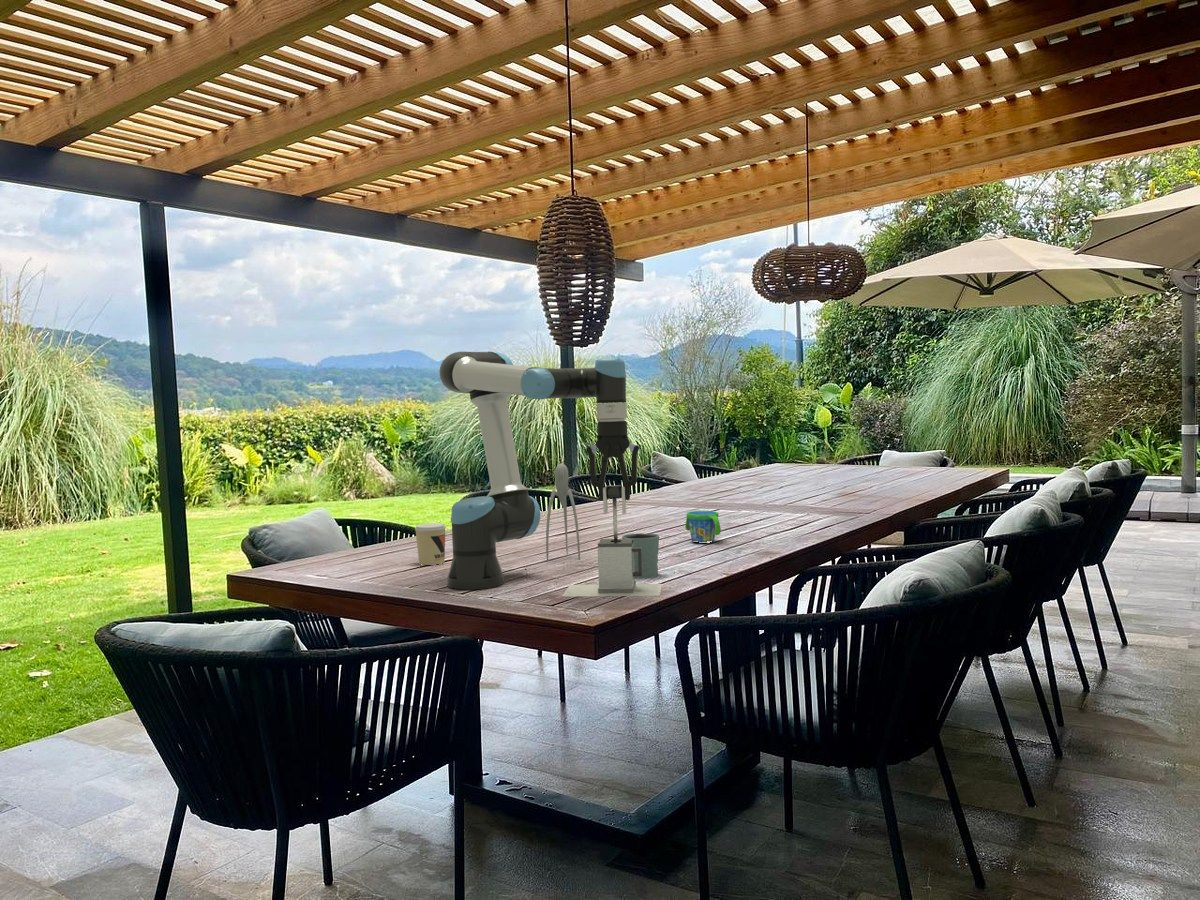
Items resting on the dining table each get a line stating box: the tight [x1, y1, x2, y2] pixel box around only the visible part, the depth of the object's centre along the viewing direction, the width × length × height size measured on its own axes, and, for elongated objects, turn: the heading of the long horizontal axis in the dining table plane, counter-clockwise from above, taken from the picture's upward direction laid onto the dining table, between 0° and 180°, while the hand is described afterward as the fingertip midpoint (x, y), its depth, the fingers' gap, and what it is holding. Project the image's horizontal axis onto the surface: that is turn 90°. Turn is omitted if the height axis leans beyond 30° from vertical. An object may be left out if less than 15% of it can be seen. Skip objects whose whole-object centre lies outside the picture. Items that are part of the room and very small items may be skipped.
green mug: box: [621, 533, 660, 579], centre depth 249 cm, size 10×10×12 cm
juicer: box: [545, 462, 581, 562], centre depth 285 cm, size 10×9×30 cm
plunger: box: [605, 484, 623, 542], centre depth 230 cm, size 6×6×18 cm
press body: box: [597, 538, 642, 593], centre depth 231 cm, size 11×9×12 cm
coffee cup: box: [414, 522, 447, 566], centre depth 284 cm, size 9×9×12 cm
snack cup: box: [685, 510, 722, 542], centre depth 308 cm, size 16×10×10 cm
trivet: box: [562, 583, 663, 598], centre depth 231 cm, size 24×14×1 cm, turn 84°
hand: (615, 513), depth 230 cm, fingers closed on plunger, 4 cm apart
